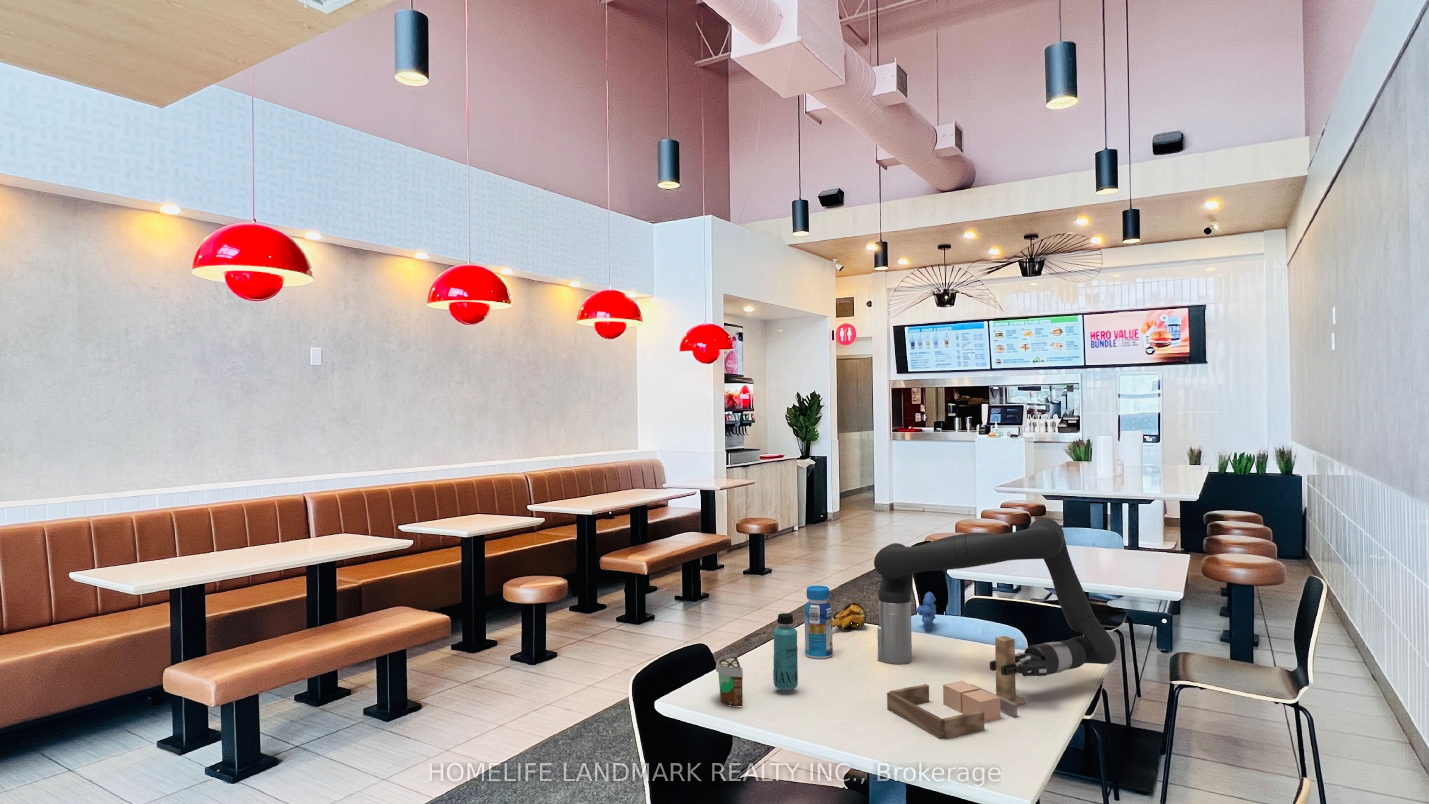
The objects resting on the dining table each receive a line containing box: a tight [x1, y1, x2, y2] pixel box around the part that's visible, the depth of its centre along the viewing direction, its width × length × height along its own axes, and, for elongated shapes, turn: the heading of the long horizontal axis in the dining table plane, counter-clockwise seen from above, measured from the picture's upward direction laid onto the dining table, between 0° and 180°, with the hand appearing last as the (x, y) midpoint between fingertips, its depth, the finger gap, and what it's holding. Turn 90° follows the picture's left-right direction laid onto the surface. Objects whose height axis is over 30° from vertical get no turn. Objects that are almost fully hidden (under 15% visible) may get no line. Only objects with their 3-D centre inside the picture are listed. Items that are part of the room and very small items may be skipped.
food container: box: [715, 653, 744, 707], centre depth 200 cm, size 12×6×10 cm, turn 5°
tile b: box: [942, 680, 979, 714], centre depth 194 cm, size 6×6×5 cm
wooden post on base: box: [970, 635, 1026, 718], centre depth 196 cm, size 9×15×16 cm, turn 24°
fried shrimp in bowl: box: [832, 601, 867, 633], centre depth 261 cm, size 9×11×18 cm
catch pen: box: [886, 683, 985, 740], centre depth 187 cm, size 12×20×4 cm, turn 24°
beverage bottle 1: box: [772, 612, 799, 691], centre depth 206 cm, size 6×7×20 cm
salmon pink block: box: [962, 689, 1001, 723], centre depth 188 cm, size 6×6×5 cm
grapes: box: [915, 591, 937, 632], centre depth 262 cm, size 12×7×12 cm, turn 155°
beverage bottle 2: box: [803, 584, 834, 660], centre depth 236 cm, size 8×8×20 cm
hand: (996, 668), depth 195 cm, fingers closed on wooden post on base, 3 cm apart
